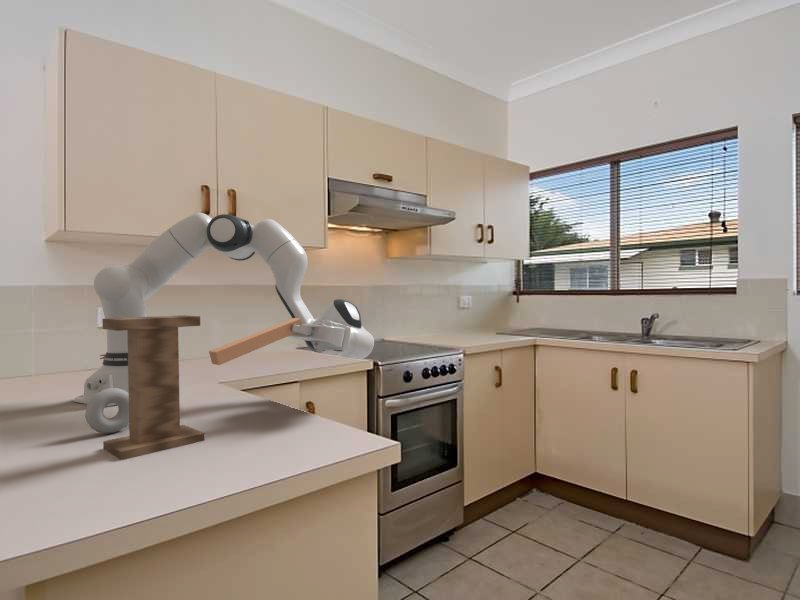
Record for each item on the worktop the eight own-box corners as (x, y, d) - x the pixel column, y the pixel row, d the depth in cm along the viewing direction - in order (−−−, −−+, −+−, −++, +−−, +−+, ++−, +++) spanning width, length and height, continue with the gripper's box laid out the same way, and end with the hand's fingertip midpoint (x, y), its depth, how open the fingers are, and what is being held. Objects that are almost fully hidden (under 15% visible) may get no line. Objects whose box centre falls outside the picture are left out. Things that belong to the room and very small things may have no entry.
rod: (296, 328, 128) (293, 317, 127) (303, 329, 126) (301, 318, 125) (212, 363, 110) (208, 351, 109) (219, 365, 108) (215, 352, 107)
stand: (183, 431, 110) (181, 315, 110) (204, 440, 103) (202, 316, 103) (103, 448, 99) (100, 318, 98) (121, 459, 92) (118, 320, 91)
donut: (131, 426, 115) (131, 383, 114) (138, 429, 112) (137, 385, 112) (83, 436, 107) (82, 390, 107) (89, 439, 105) (88, 392, 105)
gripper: (305, 323, 141) (265, 313, 131) (355, 327, 128) (315, 316, 117) (300, 345, 140) (260, 336, 130) (351, 351, 127) (309, 342, 116)
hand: (286, 326), depth 123 cm, fingers closed on rod, 3 cm apart
